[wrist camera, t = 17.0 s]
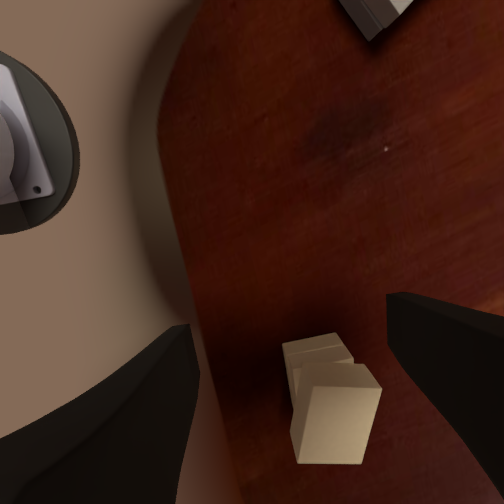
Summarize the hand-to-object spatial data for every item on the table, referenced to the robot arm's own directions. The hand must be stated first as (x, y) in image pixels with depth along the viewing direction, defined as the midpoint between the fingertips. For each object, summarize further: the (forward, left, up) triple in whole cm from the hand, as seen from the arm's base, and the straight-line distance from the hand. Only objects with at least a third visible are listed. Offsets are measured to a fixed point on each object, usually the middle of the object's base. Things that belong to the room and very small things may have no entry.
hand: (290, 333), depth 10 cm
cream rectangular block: (+3, -10, -7) cm, 13 cm away
